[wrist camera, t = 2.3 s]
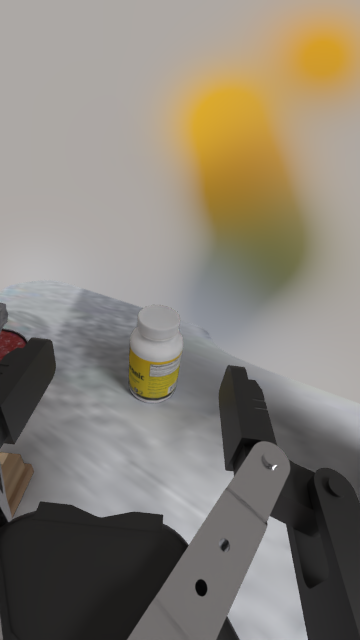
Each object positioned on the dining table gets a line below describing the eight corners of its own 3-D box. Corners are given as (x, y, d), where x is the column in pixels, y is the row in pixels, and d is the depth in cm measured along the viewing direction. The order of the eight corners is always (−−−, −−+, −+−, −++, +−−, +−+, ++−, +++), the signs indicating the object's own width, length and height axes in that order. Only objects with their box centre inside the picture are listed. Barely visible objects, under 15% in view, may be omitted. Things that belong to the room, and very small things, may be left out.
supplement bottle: (124, 371, 32) (125, 302, 26) (168, 365, 34) (177, 298, 28) (133, 409, 28) (136, 337, 22) (181, 400, 30) (197, 330, 24)
